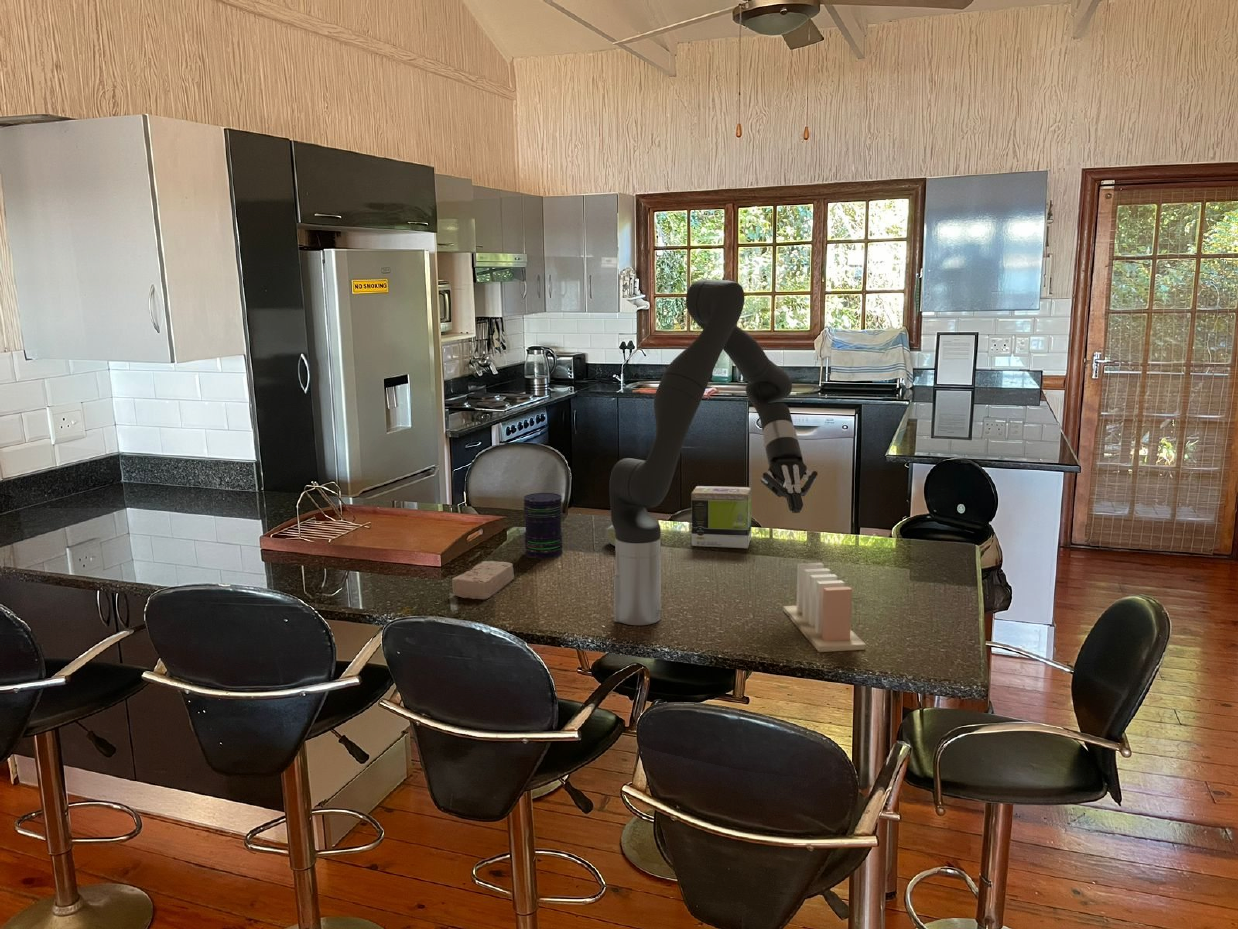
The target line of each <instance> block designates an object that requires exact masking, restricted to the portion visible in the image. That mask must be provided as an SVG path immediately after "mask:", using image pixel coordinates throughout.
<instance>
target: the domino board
mask: <svg viewBox="0 0 1238 929" xmlns="http://www.w3.org/2000/svg"><path fill="white" fill-rule="evenodd" d="M796 606H797V604H796V605H794V604H793V605H783V606H782V611H783V612H784V613H785V615H786V616H789V617H788V618H789V619H790V620H791V621H792V622H793V624H794V625H795V626H796V627H797V628H798V630H799V631H800V632H801V633H802V634H803V635H804V636H805V638H806V639H807V640H808V641H809V642H810V643H811V644H812V646H813V647H814V648H815V649H816V650H817V651H818V652H819V653H823V652H825V653H826V652H841V651H859V650H860V651H861V650H862V651H863V650H866V645H867V644H866V643H865V642H864V641H863V640H862V639H861V638H860V637H859V635H857V634H856V633H855V632H854V631H853V630H852V629H851V630H850V640H834V641H824V640H823V639H822V633H817V632H816V631H815V626H811V625H810V624H809V619H804V618H803V617H802V613H803V612H798V611H797V610H796Z"/></svg>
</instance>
